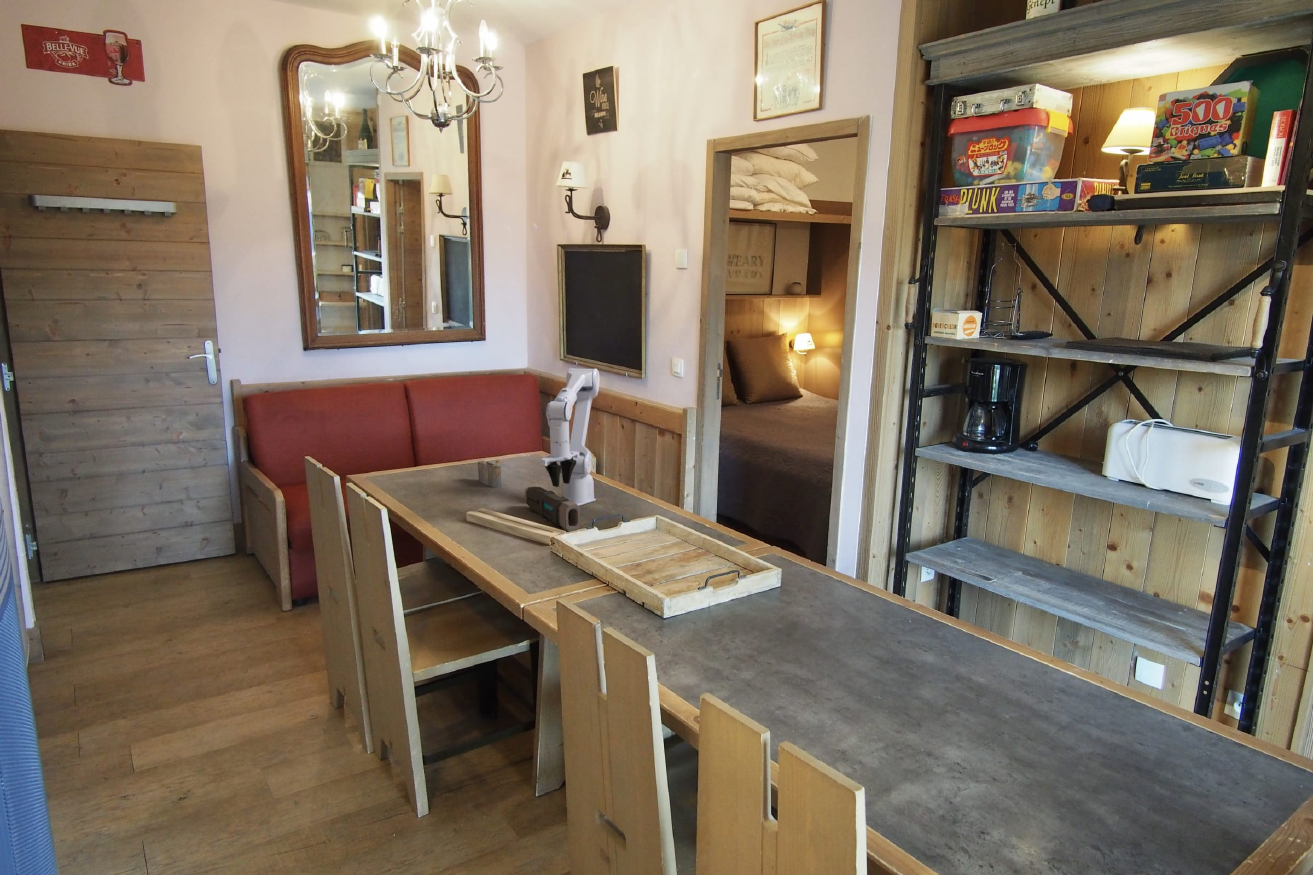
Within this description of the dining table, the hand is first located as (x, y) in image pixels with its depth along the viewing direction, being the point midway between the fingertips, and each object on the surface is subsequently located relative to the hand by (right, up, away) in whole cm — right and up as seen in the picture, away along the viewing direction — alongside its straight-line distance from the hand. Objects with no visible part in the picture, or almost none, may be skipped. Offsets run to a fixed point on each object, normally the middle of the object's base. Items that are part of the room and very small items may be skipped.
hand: (561, 484), depth 246 cm
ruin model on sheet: (-29, -3, +38) cm, 48 cm away
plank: (-12, -12, -13) cm, 21 cm away
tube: (-3, -10, -2) cm, 11 cm away
